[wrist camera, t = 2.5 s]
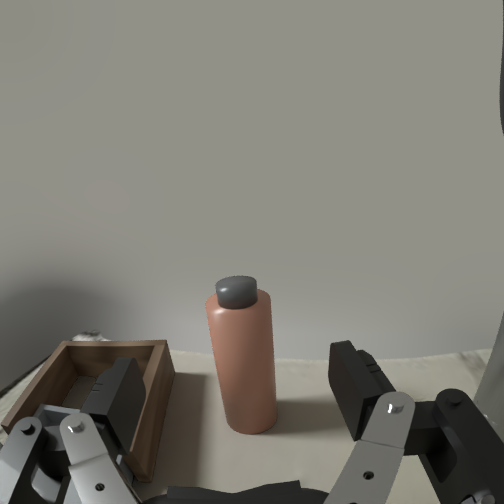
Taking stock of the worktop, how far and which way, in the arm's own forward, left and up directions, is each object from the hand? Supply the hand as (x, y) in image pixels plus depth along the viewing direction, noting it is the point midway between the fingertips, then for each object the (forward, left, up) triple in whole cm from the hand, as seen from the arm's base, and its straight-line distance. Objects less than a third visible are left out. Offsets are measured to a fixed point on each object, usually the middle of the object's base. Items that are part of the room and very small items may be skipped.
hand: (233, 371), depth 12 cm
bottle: (0, -12, -16) cm, 20 cm away
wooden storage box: (+17, -13, -16) cm, 26 cm away
